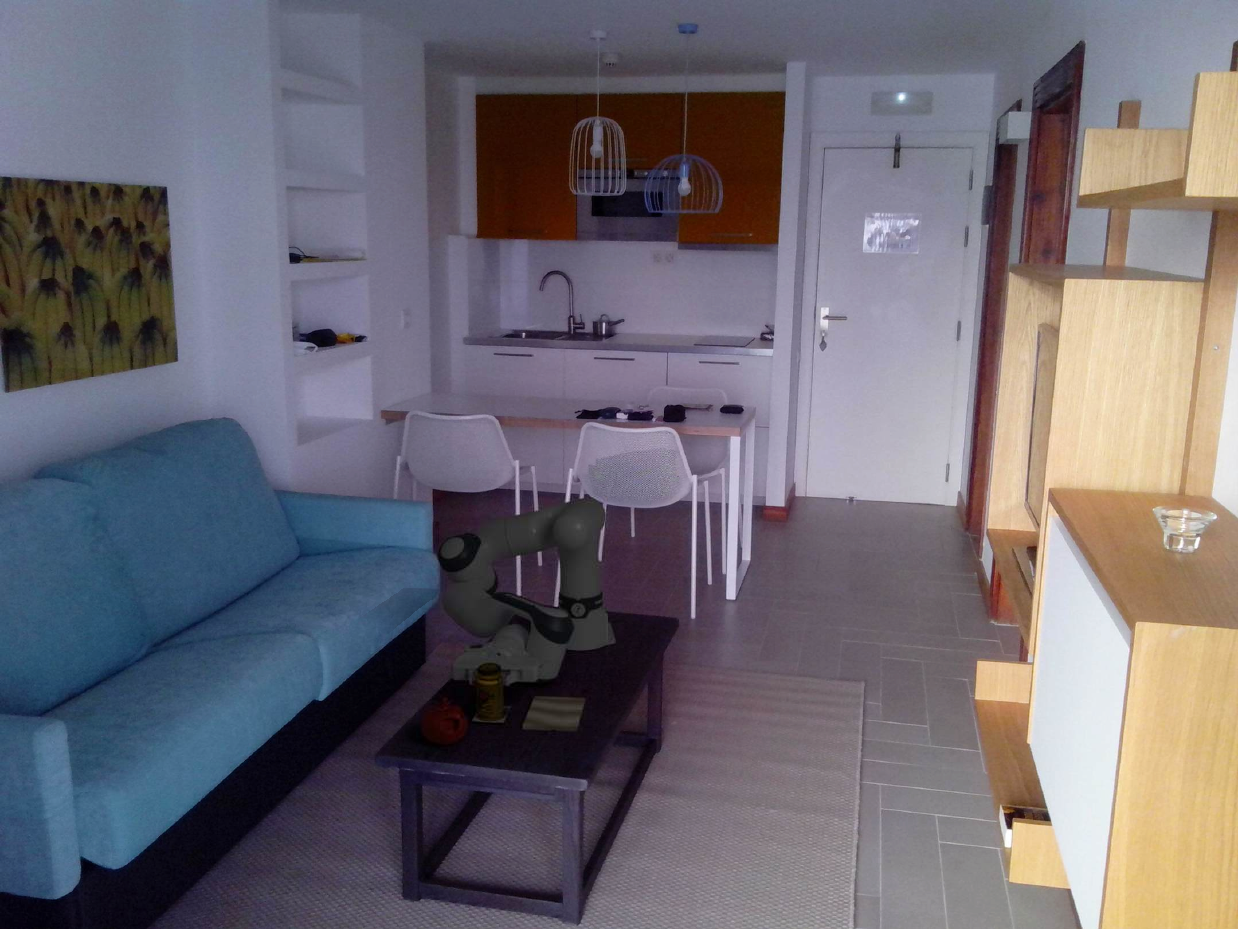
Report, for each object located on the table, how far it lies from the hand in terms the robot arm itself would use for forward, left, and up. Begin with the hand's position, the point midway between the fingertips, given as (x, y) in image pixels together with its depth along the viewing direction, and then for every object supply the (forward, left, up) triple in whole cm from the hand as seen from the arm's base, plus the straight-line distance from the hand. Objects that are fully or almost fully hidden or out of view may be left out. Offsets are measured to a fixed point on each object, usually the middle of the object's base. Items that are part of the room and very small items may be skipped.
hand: (488, 682), depth 235 cm
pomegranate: (+10, -8, -9) cm, 16 cm away
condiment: (-2, 0, -9) cm, 9 cm away
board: (-4, +14, -9) cm, 17 cm away
